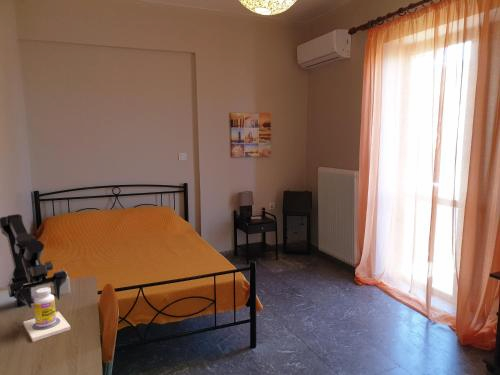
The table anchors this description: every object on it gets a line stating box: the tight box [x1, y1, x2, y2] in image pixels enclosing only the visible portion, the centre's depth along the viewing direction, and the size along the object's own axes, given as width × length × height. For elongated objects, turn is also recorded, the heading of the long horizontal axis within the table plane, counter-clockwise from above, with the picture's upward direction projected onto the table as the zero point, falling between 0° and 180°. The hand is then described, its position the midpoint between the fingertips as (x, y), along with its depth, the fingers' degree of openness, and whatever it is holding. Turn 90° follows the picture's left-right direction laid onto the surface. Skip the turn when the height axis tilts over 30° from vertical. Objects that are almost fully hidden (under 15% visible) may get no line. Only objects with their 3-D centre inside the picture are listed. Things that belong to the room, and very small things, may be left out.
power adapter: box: [58, 267, 71, 296], centre depth 163 cm, size 3×5×12 cm, turn 125°
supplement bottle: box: [33, 286, 57, 327], centre depth 133 cm, size 7×7×13 cm
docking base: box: [23, 311, 72, 343], centre depth 134 cm, size 16×12×1 cm
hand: (45, 303), depth 132 cm, fingers open, 9 cm apart
